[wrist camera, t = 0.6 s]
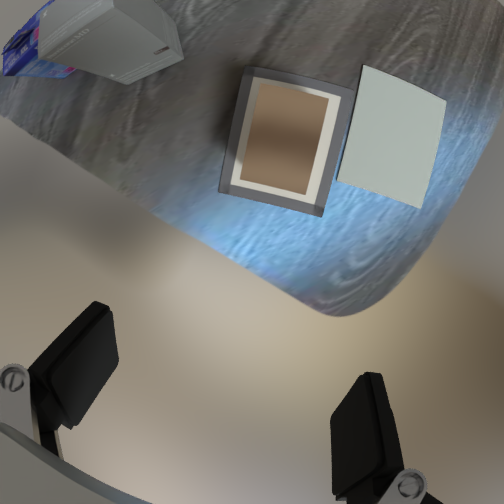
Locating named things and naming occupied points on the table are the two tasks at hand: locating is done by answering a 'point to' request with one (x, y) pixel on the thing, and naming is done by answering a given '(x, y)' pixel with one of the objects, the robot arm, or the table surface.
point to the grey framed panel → (325, 151)
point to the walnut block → (283, 138)
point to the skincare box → (109, 37)
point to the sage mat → (392, 138)
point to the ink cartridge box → (30, 54)
